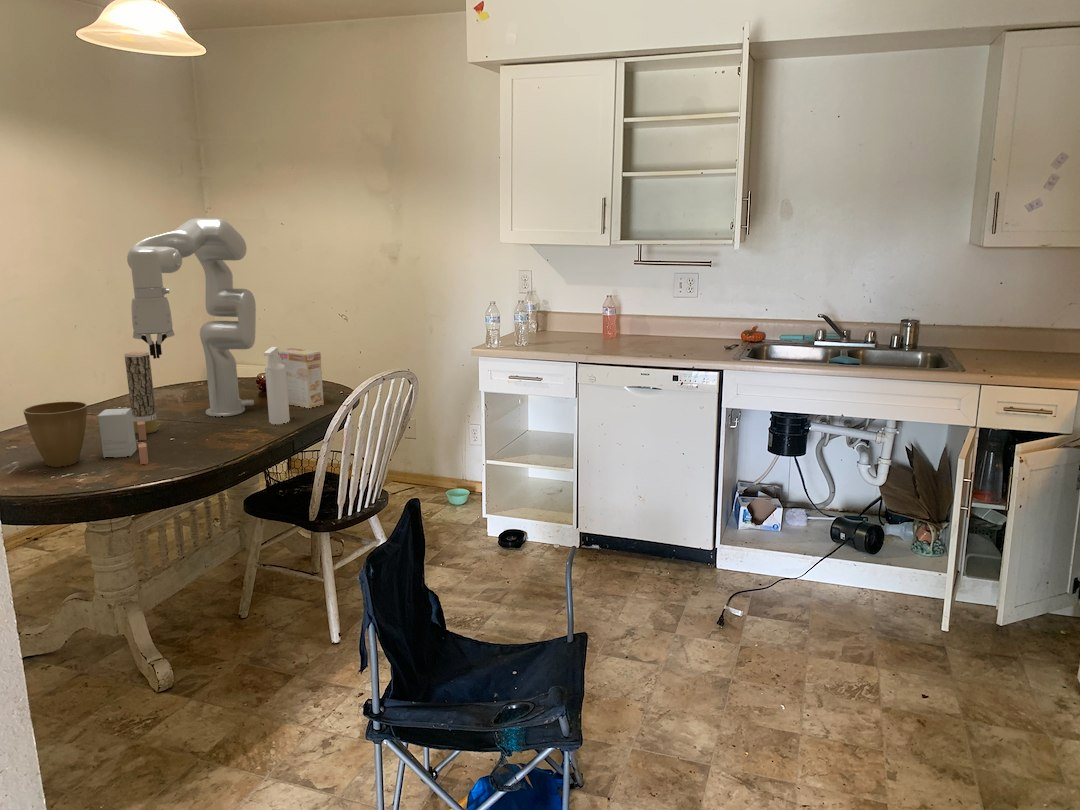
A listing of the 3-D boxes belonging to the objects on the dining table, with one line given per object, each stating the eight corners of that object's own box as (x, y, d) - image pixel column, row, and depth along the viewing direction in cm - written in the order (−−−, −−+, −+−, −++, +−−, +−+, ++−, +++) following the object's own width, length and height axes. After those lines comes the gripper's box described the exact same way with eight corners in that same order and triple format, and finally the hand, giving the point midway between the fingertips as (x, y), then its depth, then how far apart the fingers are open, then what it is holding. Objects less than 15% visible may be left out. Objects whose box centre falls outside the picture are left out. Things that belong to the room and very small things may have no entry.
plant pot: (86, 469, 217) (79, 411, 213) (24, 473, 213) (15, 415, 209) (99, 453, 231) (92, 399, 227) (41, 457, 227) (32, 402, 223)
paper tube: (134, 435, 248) (124, 356, 242) (133, 430, 254) (124, 352, 248) (158, 433, 251) (149, 354, 245) (157, 428, 257) (148, 350, 251)
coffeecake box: (324, 405, 288) (321, 351, 283) (309, 409, 282) (305, 354, 277) (295, 399, 295) (292, 347, 291) (280, 403, 290) (276, 350, 285)
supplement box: (137, 449, 234) (132, 407, 231) (130, 457, 227) (125, 413, 224) (110, 451, 233) (104, 408, 230) (102, 458, 226) (96, 415, 223)
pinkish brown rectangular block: (146, 436, 247) (144, 420, 246) (148, 464, 221) (146, 446, 220) (139, 437, 246) (137, 421, 245) (140, 465, 220) (138, 447, 219)
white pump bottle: (298, 416, 271) (290, 343, 265) (284, 426, 260) (275, 351, 253) (279, 416, 272) (270, 343, 265) (264, 426, 260) (254, 351, 254)
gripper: (177, 291, 232) (184, 353, 237) (119, 293, 226) (127, 357, 230) (178, 293, 226) (185, 357, 230) (119, 296, 219) (127, 362, 224)
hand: (156, 357), depth 230 cm, fingers closed
